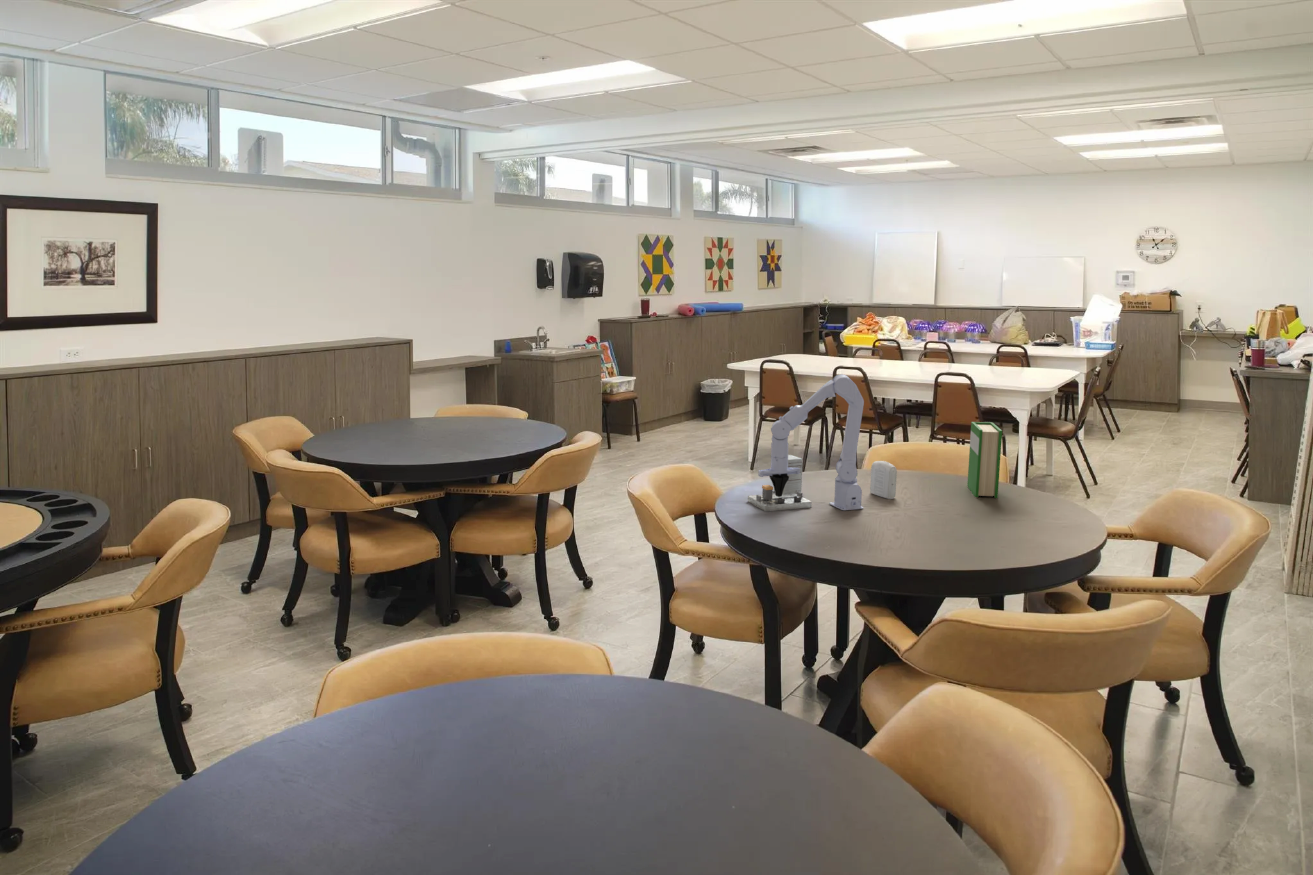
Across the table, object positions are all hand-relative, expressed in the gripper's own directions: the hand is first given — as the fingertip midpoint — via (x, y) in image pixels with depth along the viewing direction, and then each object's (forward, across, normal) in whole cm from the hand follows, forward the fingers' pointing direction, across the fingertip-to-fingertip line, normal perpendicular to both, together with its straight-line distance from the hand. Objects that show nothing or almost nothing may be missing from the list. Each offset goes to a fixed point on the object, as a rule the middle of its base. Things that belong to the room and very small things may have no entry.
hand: (778, 496), depth 315 cm
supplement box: (+3, -11, -16) cm, 20 cm away
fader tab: (+1, +4, 0) cm, 4 cm away
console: (+3, 0, 0) cm, 3 cm away
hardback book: (+3, -77, +6) cm, 78 cm away
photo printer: (+3, -40, 0) cm, 40 cm away
